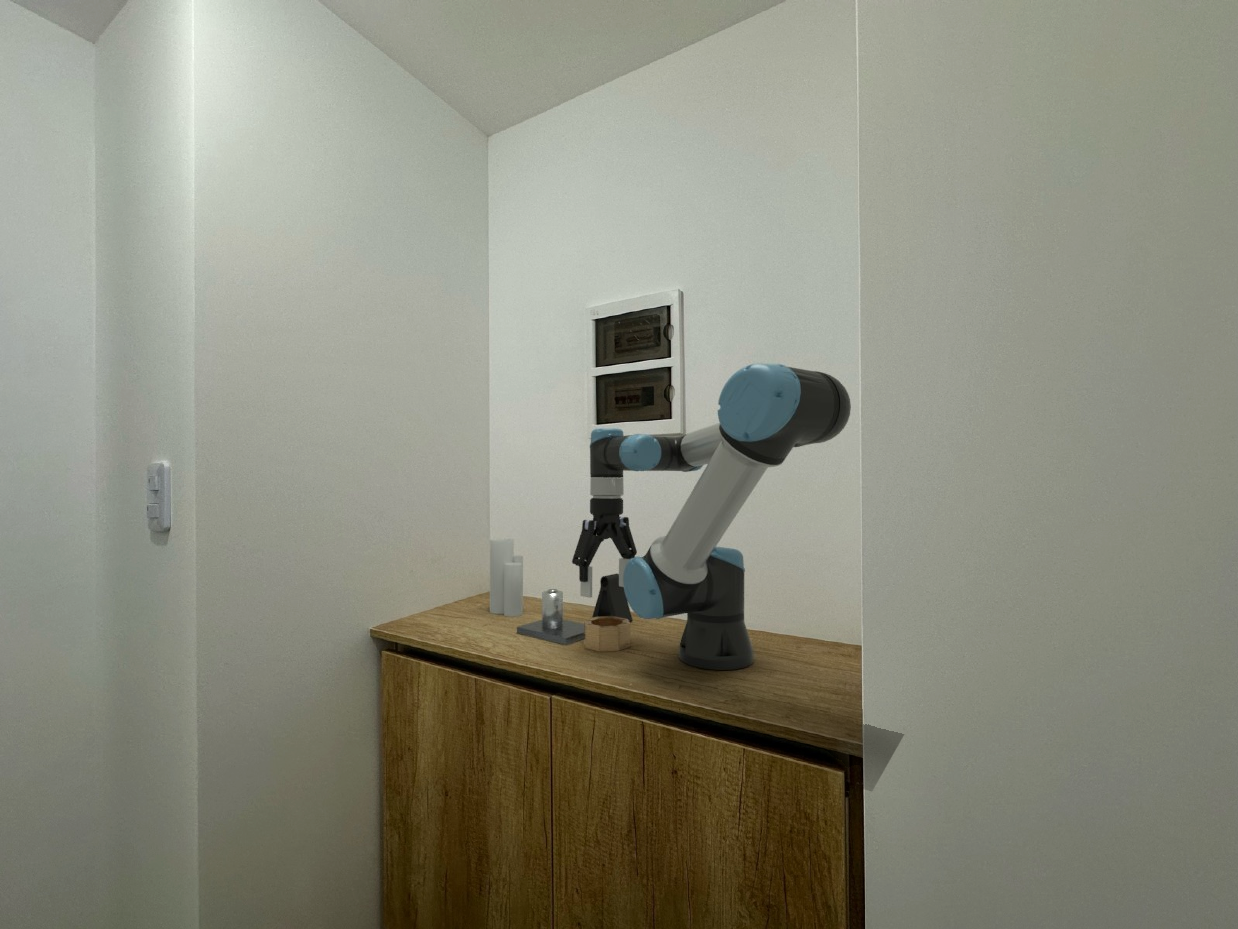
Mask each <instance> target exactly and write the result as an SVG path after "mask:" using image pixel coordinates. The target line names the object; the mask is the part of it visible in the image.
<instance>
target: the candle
mask: <svg viewBox="0 0 1238 929" xmlns="http://www.w3.org/2000/svg"><path fill="white" fill-rule="evenodd" d="M514 542H515V541H514V539H513V538H494V539H492V538H491V539H490V540H489V613H490V614H494V615H502V614H503V616H505V617H508V618H509V617H510V618H515V617H521V616H522V615H523V612H524V609H523V608H524V607H523V606H524V556H523V555H514V554H515V553H514V549H515V548H514V547H515V546H514V544H515V543H514Z"/></svg>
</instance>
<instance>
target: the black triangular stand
mask: <svg viewBox="0 0 1238 929" xmlns="http://www.w3.org/2000/svg"><path fill="white" fill-rule="evenodd" d="M599 580H600V581H599V583H600V588H599V592H598V595H597V599H596V601H595V602H596V603H595V606H594V610H593V614H592V616H591V618H594V617H605V616H615V617H620V618H625V619H628V620H629V622H630V623H631V622H633V617H632V613H631V609H630V608H631V607H630V605H629V603H628V601H627V598H626V595H625V591H624V587H621V586H619V572H618V573H613V574H607V575H604V576H601V578H600V579H599Z"/></svg>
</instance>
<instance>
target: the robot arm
mask: <svg viewBox="0 0 1238 929" xmlns="http://www.w3.org/2000/svg"><path fill="white" fill-rule="evenodd" d="M717 403H718V404H717V405H718V406H719V407H720V408H719V409H717V418H718V422H719V423H715V424H712V425H709V426H706V427H703V428H700V429H697V430H694V431H692V432H688V433H686V434H683V435H680V436H675V437H673V436H654V435H650V434H643V433H634V434H631V435H625V436H624V431H623V430H622V428H617V427H616V428H614V427H612V428H611V427H603V428H598V427H597V428H595V429H593V430H592V431H591V433H590V444H589V471H590V472H589V473H590V490H589V492H590V493H589V494H590V496H592V497H590V500H589V512H590V514H591V515H592V517H593V518H592V519H584V520H582V526H581V532H580V535H579V538H578V541H577V545H576V548H575V551H574V554H573V557H572V559H571V563H572V564H573V565H575V566H576V567H578V568H579V570H578V571H579V575H578V577H579V582H580V591H579V592H580V597H583V598H584V597H585V598H589V599H591V598H593V566H590V565H591V564H592V561H593V560H594V557H595V556H596V553H597V551H598V549H599V548H600V546H601V544H602V542H604V541H605V540H608V539H611V541H612V542H613V544H614V546H615V548H616V549H617V551H618V553H619V555H620V556H621V558H618V574H619V586H621V587H624V591H625V595H626V598H627V601H628V605H629V608H631V609H630V610H632V611H633V613H634V614H635V615H636V616H638V617H639V618H641V619H644V620H652V619H656V620H660V619H664V618H667V617H673V616H679V615H683V614H686V615H687V616H686V617H687V618H686V623H685V626H684V628H683V632H682V636H681V638H680V641H679V644H678V657H679V660H680V661H682V662H683V663H684V664H687V665H689V666H692V667H694V668H700V669H704V670H705V669H706V670H712V671H713V670H715V671H732V670H739V669H743V668H746V667H749V666H750V665H752V664H753V663H754V647H753V644H752V642H751V639H750V636H749V632H748V629H747V626H746V624H745V622H746V621H745V572H746V569H745V567H744V566H745V564H744V555H743V553H742V552H741V551H740V550H739V549H737V548H736V549H735V548H730V547H724V546H723V547H722V546H717V545H718V544H719V542H720V541H721V540H722V538H723V536H724V535H725V533H726V532H727V530H728V529H729V527H730V526H731V524H732V523H733V521H734V520H735V518H736V517H737V515H738V513H739V512H740V510H741V509H742V508H743V506H744V505H745V503H746V501H747V500H748V499H749V497H750V495H751V494H752V492H753V491H754V489H755V488H756V487H757V484H758V483H759V481H760V480H761V479H762V477H763V475H764V474H765V473H766V472H767V470H768V468H772V467H774V468H775V467H778V466H781V465H782V464H783V463H784V462H785V460H786V458H787V457H788V455H789V454H790V453H791V451H792V450H793V448H798V447H804V446H808V445H812V444H821V443H826V442H828V441H830V440H833V438H835V437H837V436H838V435H839V434H840V433H841V432H842V431H843V430H844V429H845V427H846V426H847V423H848V422H849V420H850V416H851V408H852V405H851V398H850V395H849V392H848V391H847V389H846V387H845V386H844V385H843V383H841V381H839V379H838V378H836V377H834V376H832V375H830V374H829V373H826V372H822V371H816V370H815V371H814V370H808V369H803V368H796V367H791V366H786V365H784V364H782V363H781V364H780V363H775V362H773V363H772V362H770V363H761V362H760V363H758V362H757V363H752V364H748V365H746V366H743V367H742V368H740V369H738V370H737V371H736V372H734V373H733V374H732V375H731V376H730V377H729V378H728V380H727V381H726V382H725V384H724V385H723V387H722V389H721V391H720V395H719V398H718V402H717ZM705 465H706V467H705V468H704V470H703V472H702V473H701V475H700V477H699V479H698V480H697V482H696V484H695V485H694V487H693V489H692V491H691V492H690V494H689V496H688V498H687V499H686V501H685V502H684V504H683V505H682V508H681V509H680V511H679V513H678V515H677V516H676V518H675V520H674V521H673V523H672V525H671V527H669V530H668V532H667V533H666V534H665V535H663V536H659V537H657V538H656V539H655V540H653V541H652V543H651V545H650V547H649V548H648V549H647V552H646V553H645V554H644V556H636V555H637V553H638V552H637V548H636V544H635V542H634V538H633V534H632V532H631V529H630V519H629V517H628V516H620V515H623V514H624V499H623V497H622V496H624V471H630V472H632V471H633V472H646V471H647V472H663V471H665V472H682V473H688V472H695V471H698V470H701V469H702V468H703V466H705ZM621 497H622V498H621Z"/></svg>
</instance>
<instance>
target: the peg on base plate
mask: <svg viewBox="0 0 1238 929" xmlns="http://www.w3.org/2000/svg"><path fill="white" fill-rule="evenodd" d="M541 597H542V598H541V619H540V620H536V621H533V622H530V623H526V624H523V625H519V626H516V634H519V635H522V636H527V637H530V638H531V637H532V638H535V639H540V640H544V641H548V642H552V643H555V644H560V645H564V646H567V645H570V644H573V643H575V642H579V641H583V640H584V622H583V623H582V622H577V621H572V620H569V619H564V591H562V590H559V589H556V588H548V589H547V590H545V591H542V592H541Z"/></svg>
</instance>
